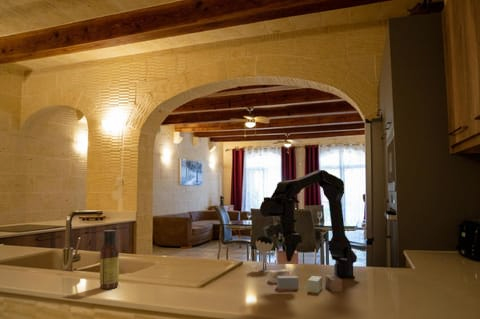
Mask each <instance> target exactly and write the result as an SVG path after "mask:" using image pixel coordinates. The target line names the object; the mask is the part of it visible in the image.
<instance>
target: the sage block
mask: <svg viewBox="0 0 480 319" xmlns="http://www.w3.org/2000/svg"><path fill="white" fill-rule="evenodd" d="M322 289H323V276H317V275H311V277H309V278H308V279H307V292H308V293H314V294H319V292H320V291H321V290H322Z"/></svg>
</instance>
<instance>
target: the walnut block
mask: <svg viewBox="0 0 480 319" xmlns="http://www.w3.org/2000/svg"><path fill="white" fill-rule="evenodd" d="M324 278H325V279H324V280H325V284H324V285H325V287H326V288H327V289H329V290H330V291H331V292H342V291H343V280H342V278H339V277H337V276H336V275H334V274H331V275H330V274H326V275H324Z"/></svg>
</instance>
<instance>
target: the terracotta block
mask: <svg viewBox="0 0 480 319" xmlns="http://www.w3.org/2000/svg"><path fill="white" fill-rule="evenodd" d="M276 263H277V265H298V264H299V253H298V251H297V250H295V252H294V254H293V257H292V259H291V261H287V257H286V251H283V250H276Z"/></svg>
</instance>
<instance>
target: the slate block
mask: <svg viewBox="0 0 480 319" xmlns="http://www.w3.org/2000/svg"><path fill="white" fill-rule="evenodd" d="M299 279H300V278H299V277H298V276H297V275H289V276H277V283H276V288H277V289H278V290H279V289H280V290H281V291H282V289H283V291H284V290H285V291H286V289H287V290H299V289H300V288H299V285H300V284H299Z"/></svg>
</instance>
